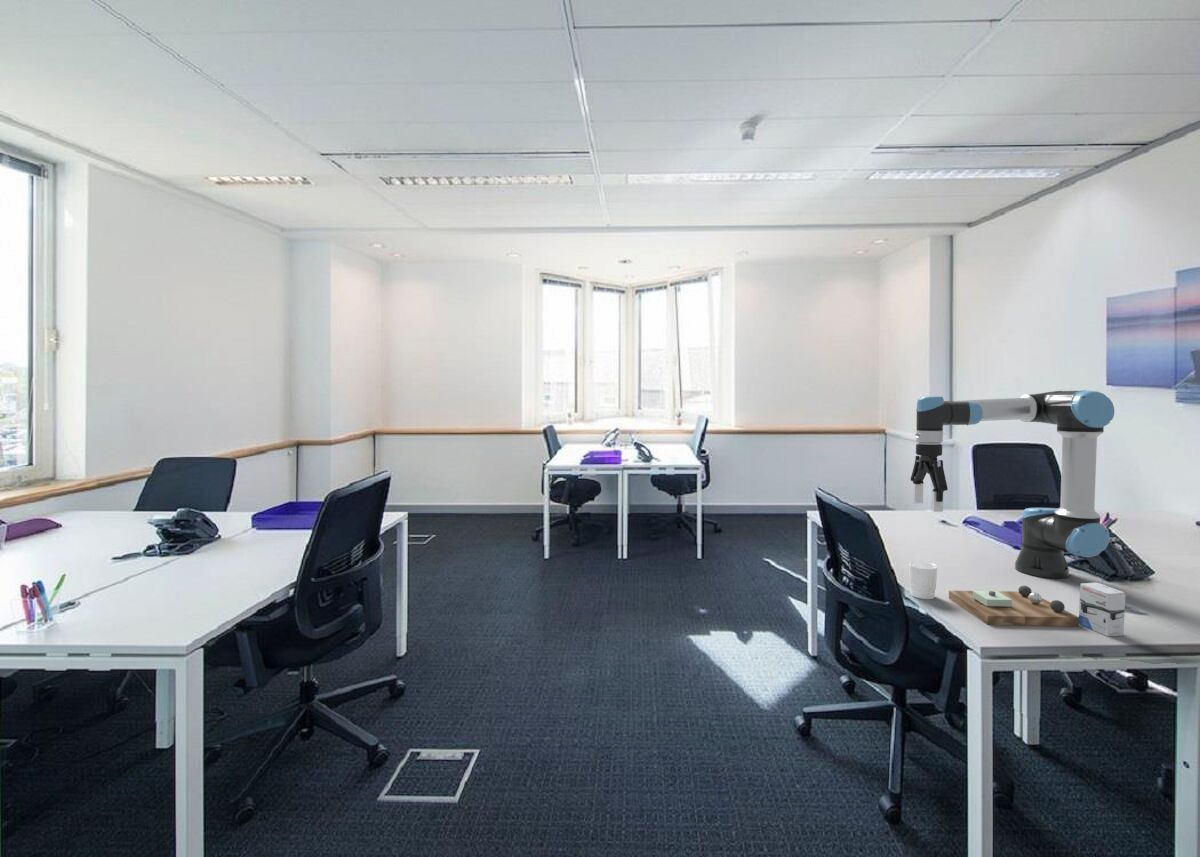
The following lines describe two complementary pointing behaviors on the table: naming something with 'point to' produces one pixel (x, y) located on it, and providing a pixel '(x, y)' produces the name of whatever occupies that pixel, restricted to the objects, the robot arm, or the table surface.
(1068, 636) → the table surface
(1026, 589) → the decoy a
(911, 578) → the white cup
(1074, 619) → the wooden cutting board
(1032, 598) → the steel ball
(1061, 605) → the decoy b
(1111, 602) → the ink box
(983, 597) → the mint green square lid
